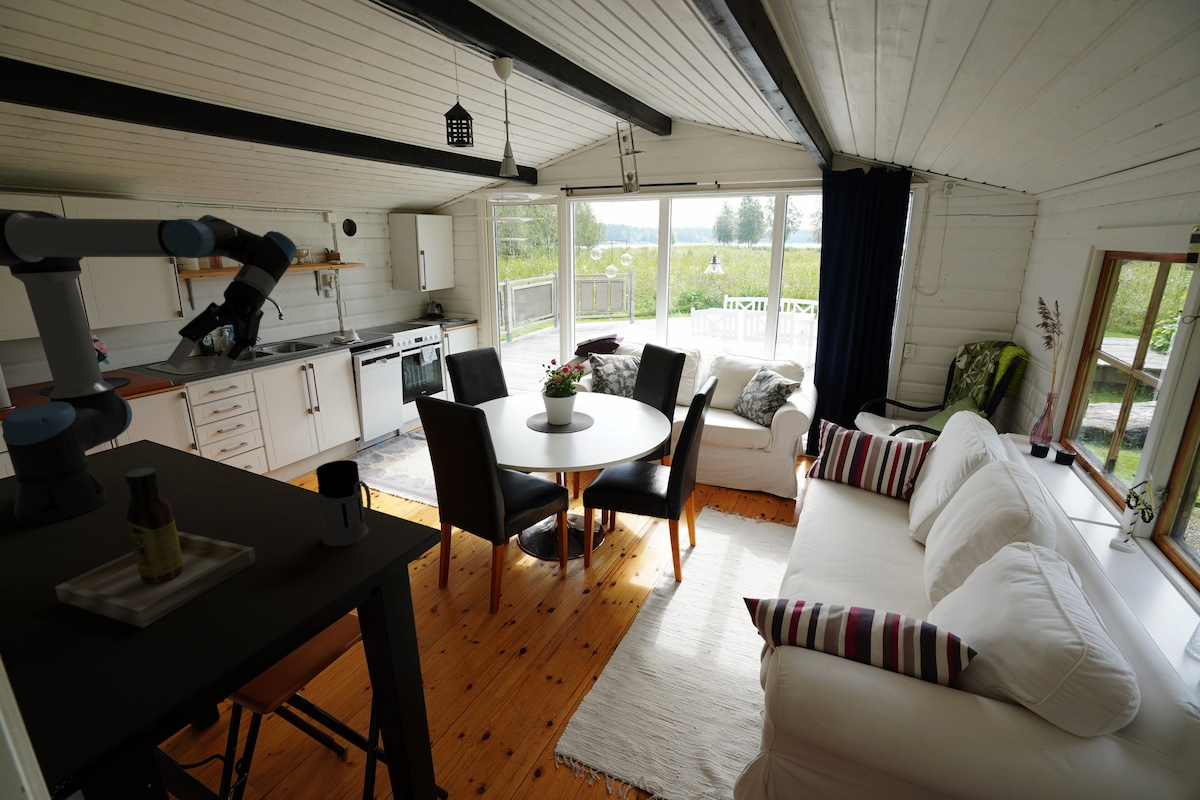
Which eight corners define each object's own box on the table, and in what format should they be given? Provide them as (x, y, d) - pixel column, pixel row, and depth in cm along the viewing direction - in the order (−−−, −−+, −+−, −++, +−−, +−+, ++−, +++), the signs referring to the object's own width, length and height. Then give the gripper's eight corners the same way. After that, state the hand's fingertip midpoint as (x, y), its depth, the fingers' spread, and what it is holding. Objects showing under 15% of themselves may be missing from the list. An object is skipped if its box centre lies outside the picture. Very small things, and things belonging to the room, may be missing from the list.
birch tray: (59, 602, 94) (54, 586, 93) (180, 544, 112) (177, 531, 111) (143, 627, 88) (139, 611, 87) (256, 562, 106) (253, 547, 105)
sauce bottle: (137, 576, 100) (112, 471, 95) (180, 562, 104) (158, 461, 99) (145, 590, 95) (118, 481, 90) (189, 575, 100) (166, 470, 95)
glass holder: (352, 521, 122) (344, 455, 118) (394, 539, 114) (386, 470, 110) (313, 538, 115) (303, 469, 111) (354, 559, 107) (345, 485, 103)
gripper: (303, 303, 127) (253, 383, 117) (222, 298, 135) (169, 372, 125) (279, 281, 121) (224, 363, 111) (196, 277, 129) (138, 353, 119)
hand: (195, 368), depth 118 cm, fingers open, 13 cm apart
